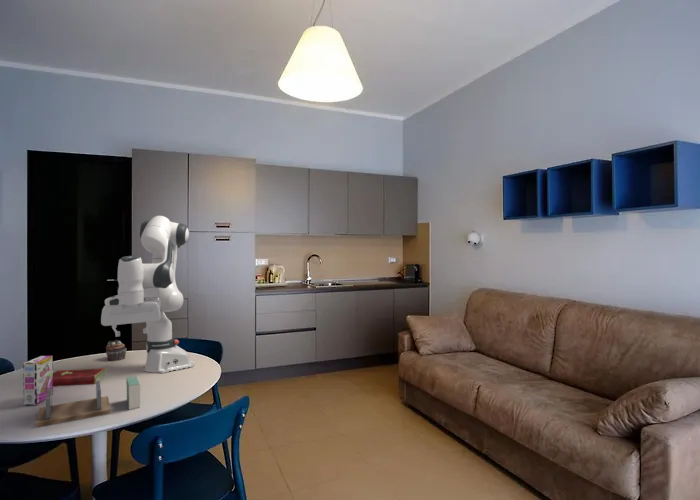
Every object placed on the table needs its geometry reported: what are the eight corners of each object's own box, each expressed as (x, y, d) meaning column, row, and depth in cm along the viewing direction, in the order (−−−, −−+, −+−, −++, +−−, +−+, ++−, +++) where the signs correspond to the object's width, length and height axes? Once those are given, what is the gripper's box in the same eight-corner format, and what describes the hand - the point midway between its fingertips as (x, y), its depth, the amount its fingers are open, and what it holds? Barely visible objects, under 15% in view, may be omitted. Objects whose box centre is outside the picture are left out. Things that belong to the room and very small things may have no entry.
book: (136, 398, 174) (136, 376, 174) (140, 407, 164) (139, 383, 164) (126, 400, 172) (126, 377, 172) (129, 409, 162) (128, 385, 162)
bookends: (99, 398, 170) (99, 380, 170) (101, 409, 159) (100, 390, 158) (48, 407, 161) (47, 388, 161) (46, 419, 150) (45, 399, 150)
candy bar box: (37, 405, 167) (35, 362, 167) (23, 406, 167) (21, 363, 166) (54, 395, 178) (53, 355, 178) (41, 395, 178) (40, 355, 177)
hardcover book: (95, 385, 192) (95, 375, 192) (42, 387, 189) (42, 378, 188) (106, 376, 204) (106, 367, 203) (57, 379, 200) (56, 369, 200)
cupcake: (114, 362, 225) (114, 343, 225) (101, 360, 229) (101, 341, 229) (130, 357, 234) (130, 339, 234) (118, 355, 238) (118, 337, 238)
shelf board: (108, 399, 173) (107, 396, 172) (110, 413, 159) (110, 409, 159) (39, 411, 161) (39, 407, 161) (35, 427, 147) (35, 423, 147)
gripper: (159, 295, 175) (159, 330, 176) (100, 299, 165) (101, 336, 165) (161, 297, 170) (162, 333, 170) (101, 301, 159) (101, 339, 160)
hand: (131, 334), depth 167 cm, fingers open, 8 cm apart
